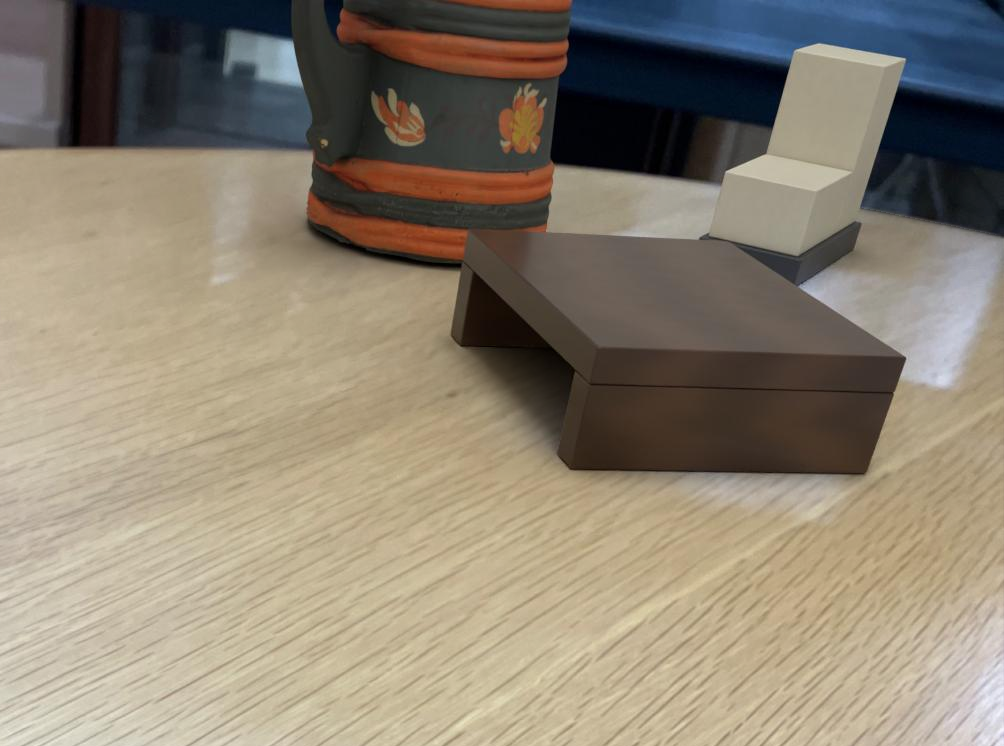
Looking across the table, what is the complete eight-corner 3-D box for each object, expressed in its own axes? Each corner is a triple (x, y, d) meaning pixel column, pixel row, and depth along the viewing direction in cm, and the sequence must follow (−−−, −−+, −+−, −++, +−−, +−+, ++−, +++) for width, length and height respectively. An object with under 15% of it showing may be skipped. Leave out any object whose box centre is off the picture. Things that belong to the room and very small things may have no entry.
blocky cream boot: (760, 228, 103) (812, 41, 96) (854, 248, 100) (914, 59, 93) (691, 265, 93) (743, 60, 86) (793, 289, 91) (854, 81, 84)
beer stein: (382, 293, 82) (444, -170, 69) (201, 226, 90) (226, -203, 77) (590, 252, 93) (677, -155, 80) (413, 195, 101) (466, -185, 88)
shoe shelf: (701, 342, 80) (728, 240, 77) (867, 474, 67) (908, 357, 64) (449, 334, 78) (467, 227, 74) (570, 469, 64) (598, 347, 61)
